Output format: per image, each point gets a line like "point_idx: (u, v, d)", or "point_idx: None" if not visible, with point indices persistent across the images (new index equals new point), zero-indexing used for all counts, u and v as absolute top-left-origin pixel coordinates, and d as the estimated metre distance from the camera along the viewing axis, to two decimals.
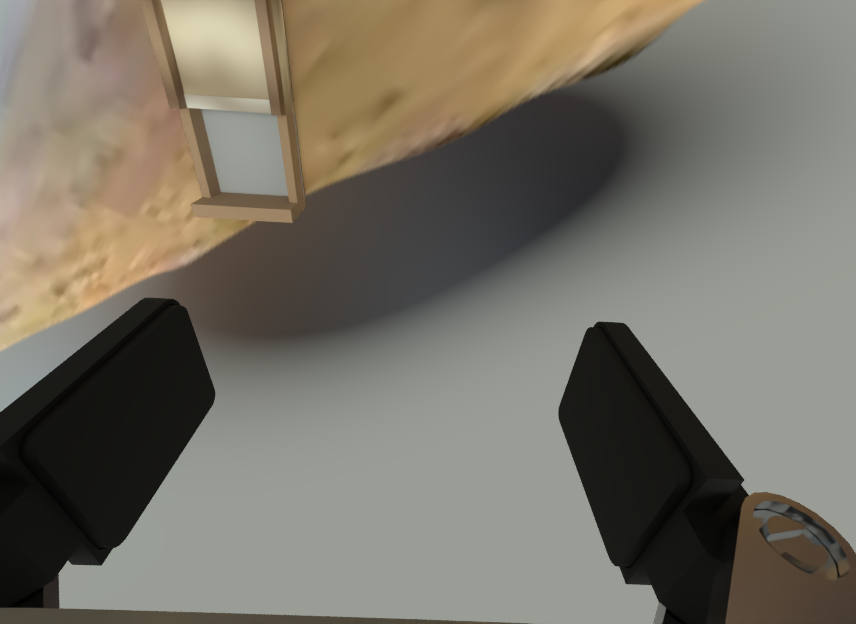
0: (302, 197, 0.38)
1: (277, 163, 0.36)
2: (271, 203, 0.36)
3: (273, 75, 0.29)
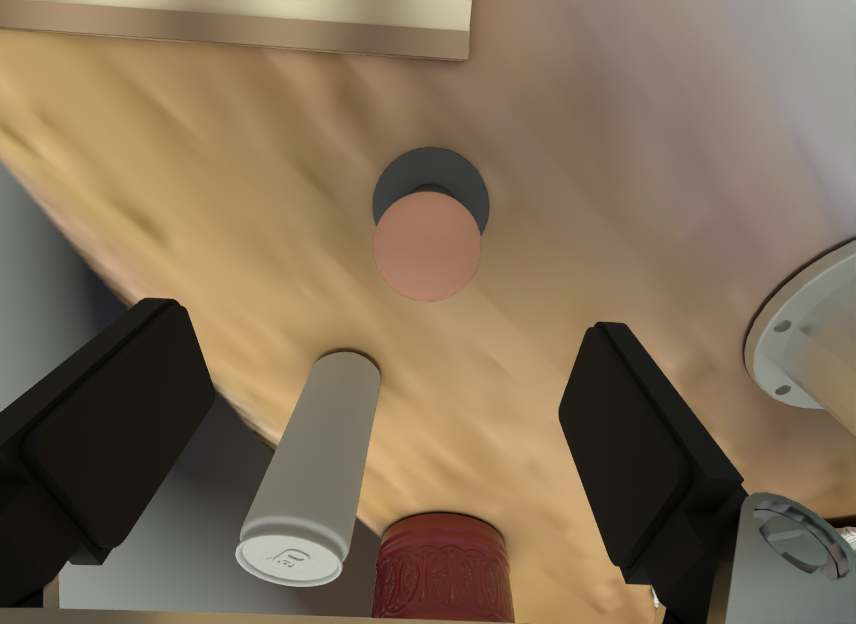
0: None
1: None
2: None
3: (32, 22, 0.13)
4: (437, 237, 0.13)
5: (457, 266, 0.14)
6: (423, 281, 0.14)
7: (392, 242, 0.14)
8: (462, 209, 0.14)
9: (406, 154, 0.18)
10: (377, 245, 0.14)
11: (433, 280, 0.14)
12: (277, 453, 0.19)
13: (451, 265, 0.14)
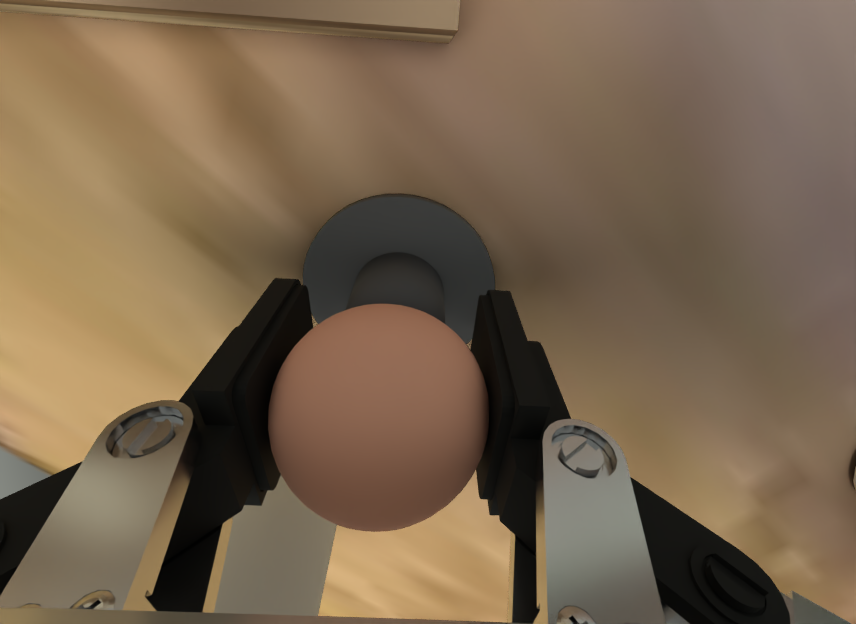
0: None
1: None
2: None
3: None
4: (391, 448, 0.06)
5: (440, 491, 0.06)
6: (366, 525, 0.06)
7: (293, 449, 0.06)
8: (450, 356, 0.07)
9: (353, 206, 0.10)
10: (269, 434, 0.07)
11: (388, 523, 0.06)
12: None
13: (426, 496, 0.06)
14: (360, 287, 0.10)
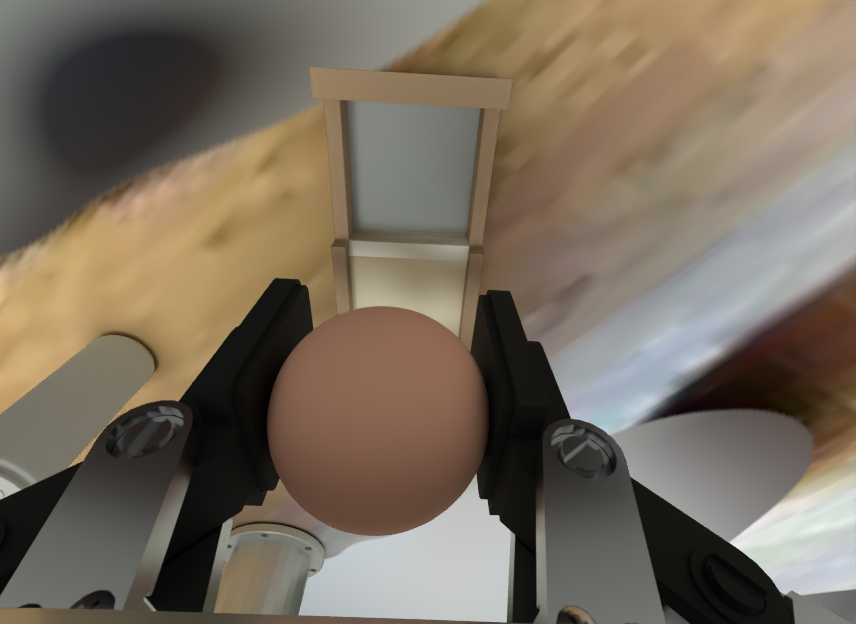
0: None
1: (372, 156, 0.22)
2: None
3: (338, 288, 0.23)
4: (391, 452, 0.06)
5: (440, 496, 0.06)
6: (365, 529, 0.06)
7: (292, 453, 0.06)
8: (450, 359, 0.07)
9: None
10: (268, 437, 0.07)
11: (387, 527, 0.06)
12: (57, 412, 0.23)
13: (426, 500, 0.06)
14: None
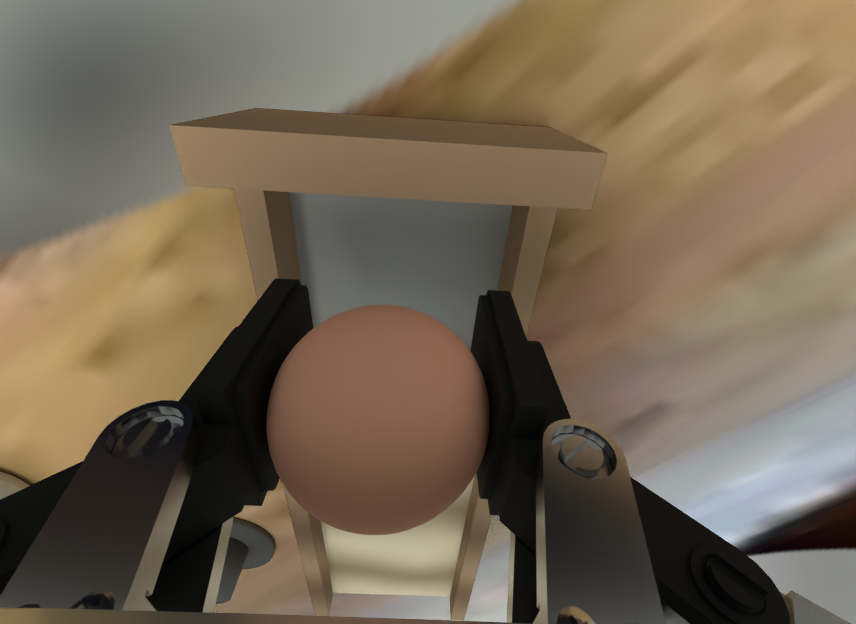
0: None
1: (333, 248, 0.13)
2: None
3: None
4: (391, 451, 0.06)
5: (440, 495, 0.06)
6: (365, 528, 0.06)
7: (292, 452, 0.06)
8: (450, 358, 0.07)
9: (264, 536, 0.24)
10: (267, 436, 0.07)
11: (387, 527, 0.06)
12: None
13: (426, 500, 0.06)
14: (228, 567, 0.23)
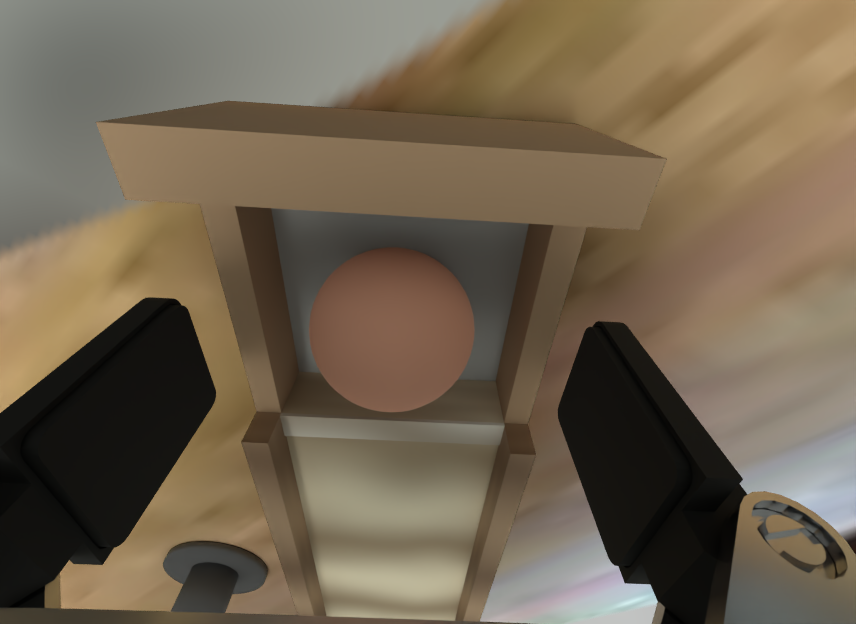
0: None
1: (323, 264, 0.12)
2: None
3: (263, 495, 0.13)
4: (402, 334, 0.08)
5: (437, 373, 0.09)
6: (383, 397, 0.09)
7: (332, 339, 0.08)
8: (444, 279, 0.09)
9: (254, 563, 0.23)
10: (312, 336, 0.09)
11: (399, 395, 0.09)
12: None
13: (427, 373, 0.08)
14: (216, 597, 0.21)
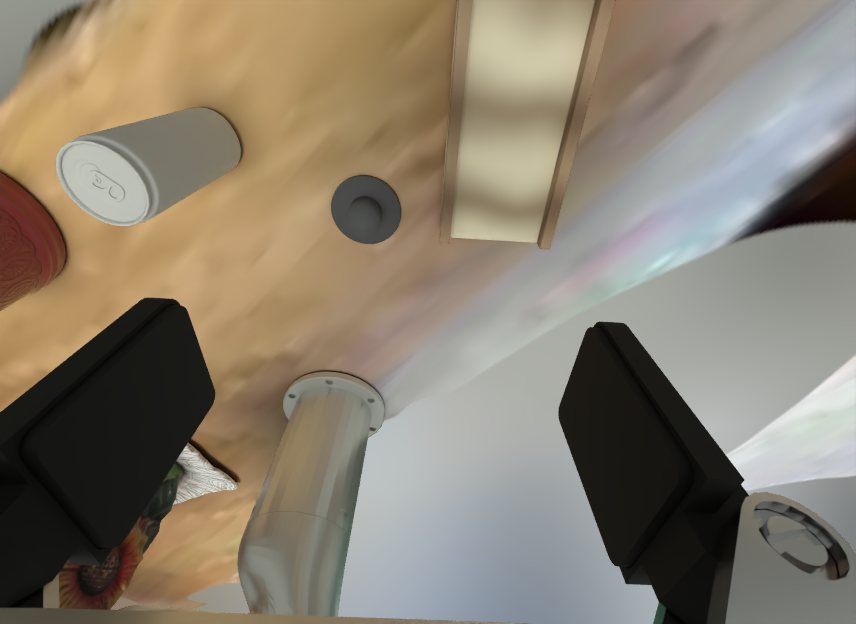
0: None
1: None
2: None
3: (461, 2, 0.22)
4: None
5: None
6: None
7: None
8: None
9: (396, 198, 0.32)
10: None
11: None
12: (167, 135, 0.22)
13: None
14: (375, 209, 0.31)
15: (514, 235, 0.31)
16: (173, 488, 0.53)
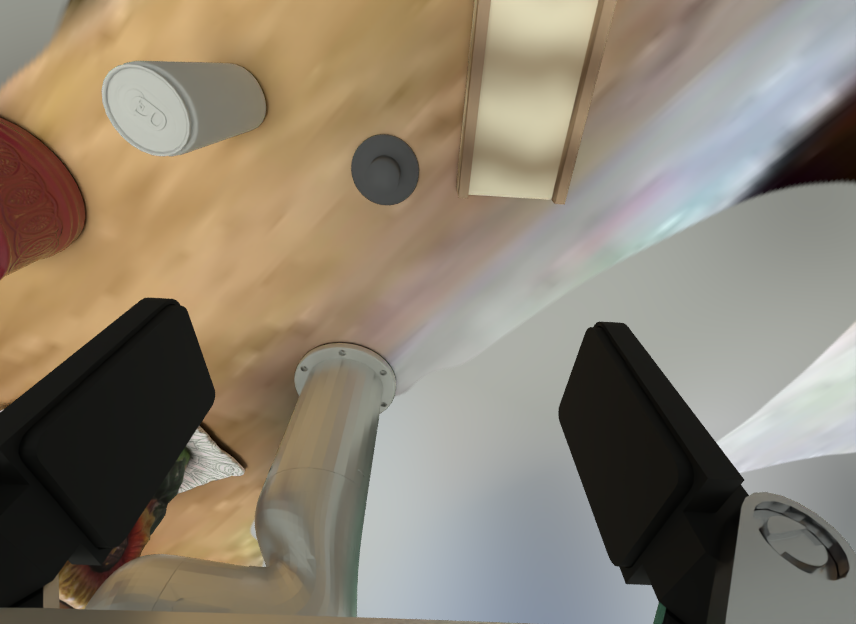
0: None
1: None
2: None
3: None
4: None
5: None
6: None
7: None
8: None
9: (415, 157, 0.33)
10: None
11: None
12: (204, 74, 0.23)
13: None
14: (395, 165, 0.32)
15: (529, 192, 0.32)
16: (181, 470, 0.52)
